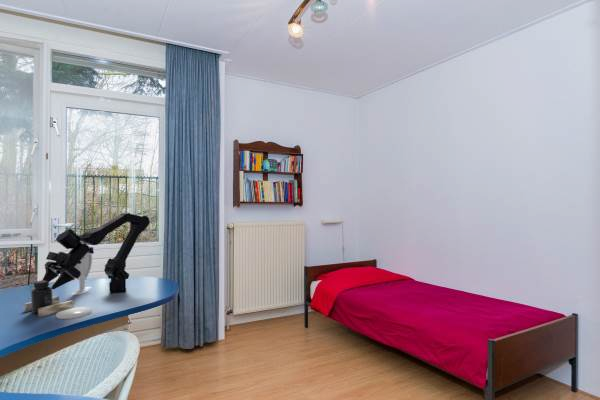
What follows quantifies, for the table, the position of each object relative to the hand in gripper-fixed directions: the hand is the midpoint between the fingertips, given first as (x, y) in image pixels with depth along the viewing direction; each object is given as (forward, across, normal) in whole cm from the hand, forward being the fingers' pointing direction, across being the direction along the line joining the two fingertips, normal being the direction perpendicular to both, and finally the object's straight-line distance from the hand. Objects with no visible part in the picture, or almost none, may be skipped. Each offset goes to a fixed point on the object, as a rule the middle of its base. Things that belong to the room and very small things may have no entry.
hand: (46, 287), depth 142 cm
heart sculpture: (-9, -17, +22) cm, 29 cm away
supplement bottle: (+8, 0, +6) cm, 10 cm away
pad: (+4, +14, +9) cm, 17 cm away
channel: (+6, 0, +7) cm, 9 cm away
